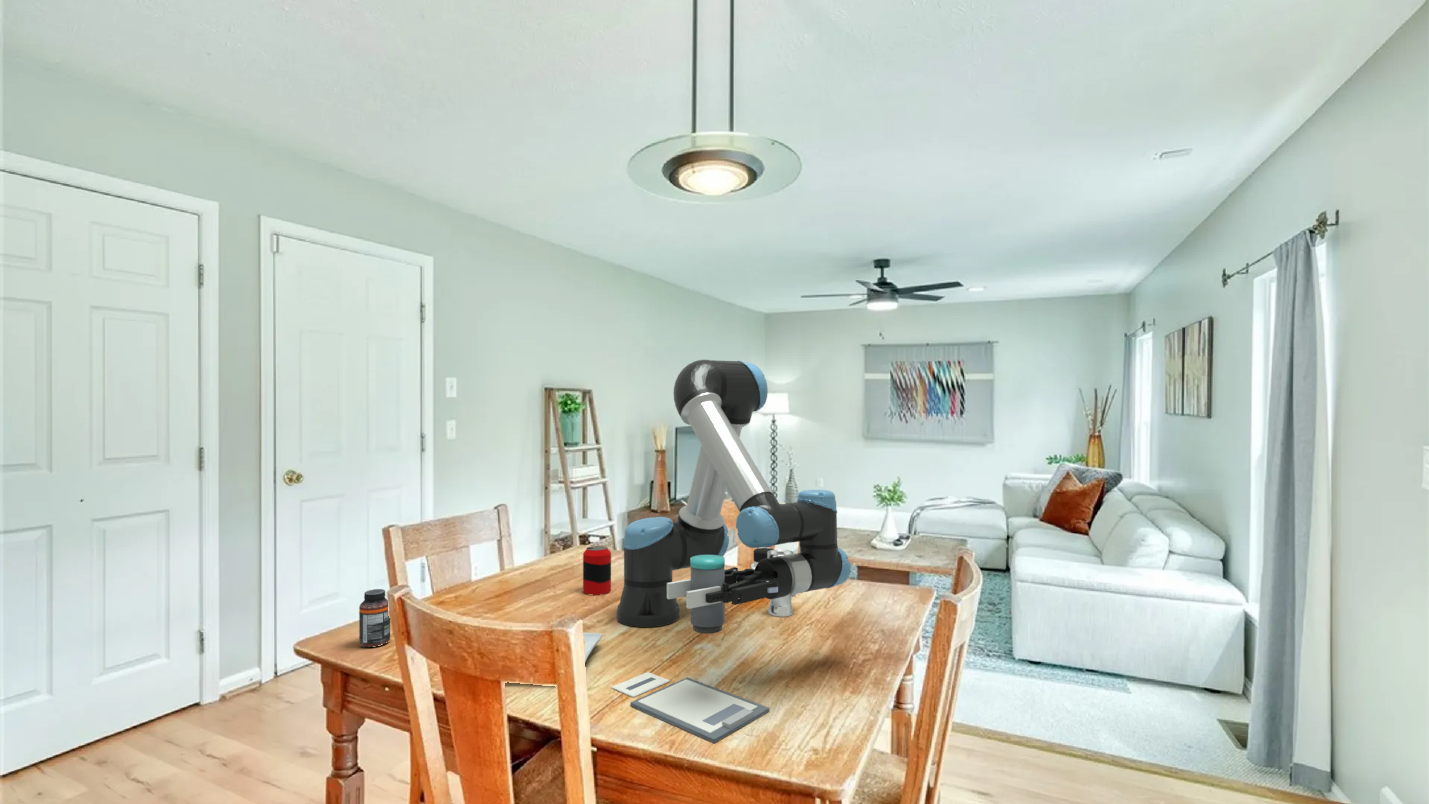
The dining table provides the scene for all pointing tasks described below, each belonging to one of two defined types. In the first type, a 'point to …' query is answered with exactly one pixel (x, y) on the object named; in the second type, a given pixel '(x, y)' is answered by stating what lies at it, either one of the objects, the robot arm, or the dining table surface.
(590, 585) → the soda can
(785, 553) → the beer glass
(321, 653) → the dining table surface
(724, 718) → the clipboard
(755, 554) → the medicine bottle
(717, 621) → the grey teal cylinder
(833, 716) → the dining table surface
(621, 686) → the word card
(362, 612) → the supplement bottle
